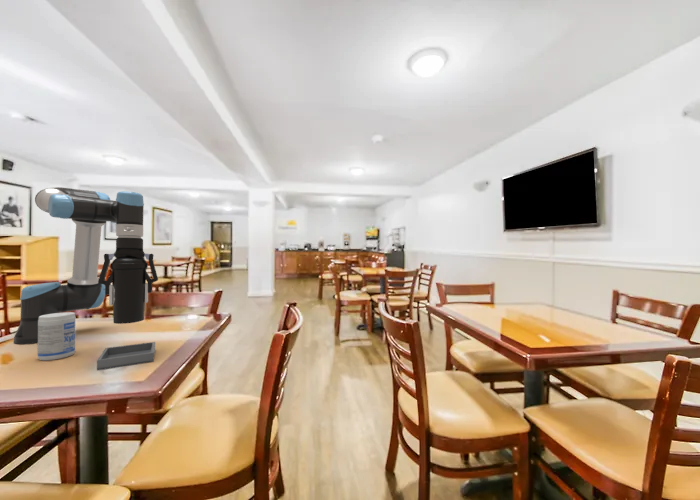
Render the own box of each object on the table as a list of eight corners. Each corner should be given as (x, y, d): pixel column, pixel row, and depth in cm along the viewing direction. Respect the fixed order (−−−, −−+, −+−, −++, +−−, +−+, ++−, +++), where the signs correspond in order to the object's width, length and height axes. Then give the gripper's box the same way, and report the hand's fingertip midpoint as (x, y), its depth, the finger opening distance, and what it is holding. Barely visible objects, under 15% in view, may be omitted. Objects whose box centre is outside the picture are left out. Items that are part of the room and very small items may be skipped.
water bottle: (115, 319, 107) (116, 253, 107) (149, 316, 111) (150, 253, 111) (105, 325, 97) (106, 253, 98) (143, 322, 101) (144, 253, 102)
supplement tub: (72, 358, 105) (72, 315, 105) (33, 363, 100) (33, 318, 100) (77, 350, 113) (78, 310, 113) (42, 355, 108) (42, 313, 108)
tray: (105, 356, 106) (105, 347, 106) (155, 349, 114) (155, 341, 114) (96, 370, 94) (97, 360, 94) (153, 361, 101) (153, 352, 101)
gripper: (85, 236, 96) (85, 307, 95) (166, 237, 107) (166, 302, 106) (91, 237, 102) (90, 304, 102) (167, 238, 113) (166, 299, 113)
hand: (129, 303), depth 104 cm, fingers closed on water bottle, 9 cm apart
